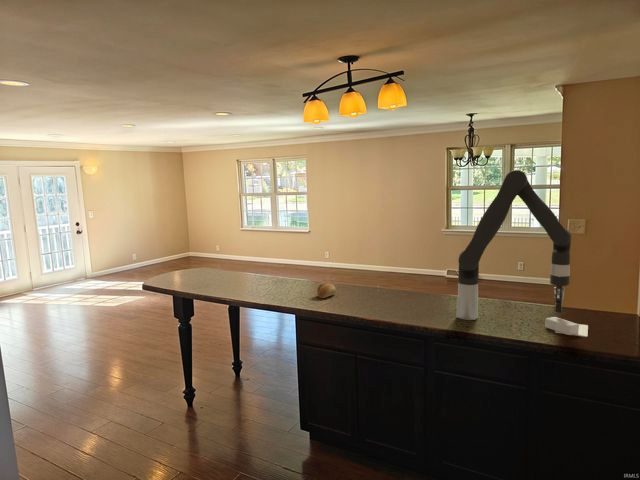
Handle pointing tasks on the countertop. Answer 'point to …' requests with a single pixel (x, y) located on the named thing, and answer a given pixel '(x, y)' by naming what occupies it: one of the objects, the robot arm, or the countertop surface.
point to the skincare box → (562, 325)
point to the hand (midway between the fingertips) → (558, 311)
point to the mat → (580, 331)
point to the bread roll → (326, 290)
